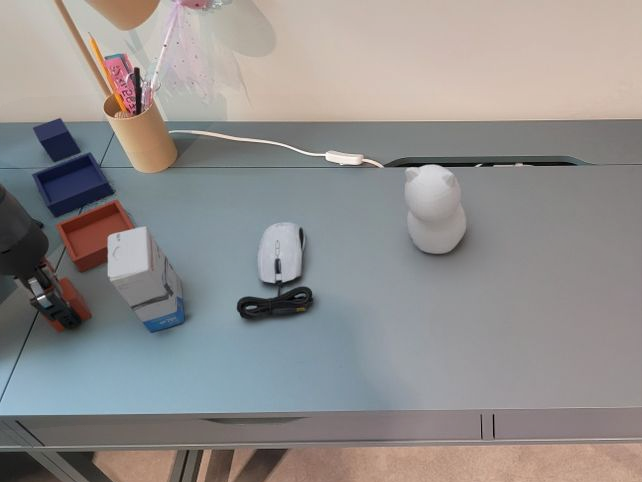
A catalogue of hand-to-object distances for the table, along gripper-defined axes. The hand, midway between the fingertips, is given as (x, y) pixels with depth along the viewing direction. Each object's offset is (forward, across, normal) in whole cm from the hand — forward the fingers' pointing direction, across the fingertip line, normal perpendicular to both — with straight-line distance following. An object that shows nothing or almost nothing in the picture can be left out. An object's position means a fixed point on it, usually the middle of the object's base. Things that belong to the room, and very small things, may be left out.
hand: (68, 311), depth 90 cm
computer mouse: (+1, +10, +27) cm, 29 cm away
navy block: (+1, -37, +9) cm, 38 cm away
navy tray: (+1, -26, +8) cm, 27 cm away
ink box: (+1, +6, +11) cm, 13 cm away
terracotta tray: (+1, -12, +8) cm, 14 cm away
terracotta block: (+1, 0, 0) cm, 1 cm away
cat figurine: (+1, +18, +50) cm, 53 cm away
